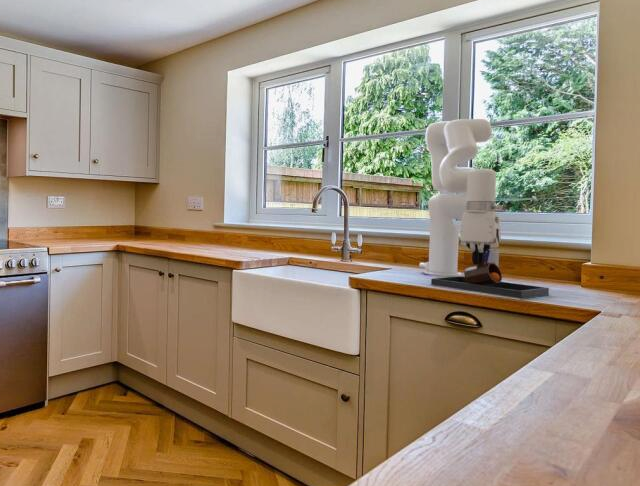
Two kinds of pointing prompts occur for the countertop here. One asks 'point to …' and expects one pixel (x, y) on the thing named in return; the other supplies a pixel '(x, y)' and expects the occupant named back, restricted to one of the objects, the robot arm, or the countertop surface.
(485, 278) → the brown hollow cylinder
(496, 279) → the ball top
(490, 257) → the energy drink
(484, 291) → the tray
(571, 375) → the countertop surface
